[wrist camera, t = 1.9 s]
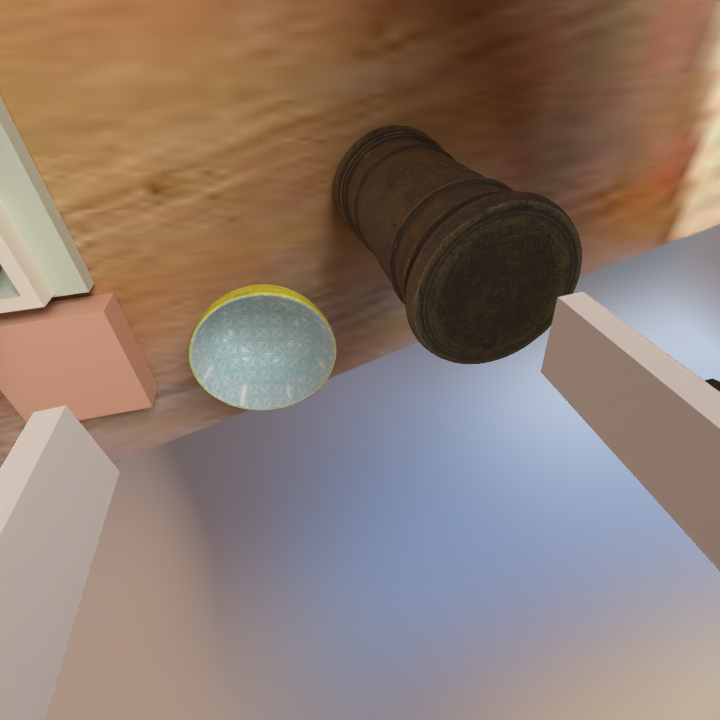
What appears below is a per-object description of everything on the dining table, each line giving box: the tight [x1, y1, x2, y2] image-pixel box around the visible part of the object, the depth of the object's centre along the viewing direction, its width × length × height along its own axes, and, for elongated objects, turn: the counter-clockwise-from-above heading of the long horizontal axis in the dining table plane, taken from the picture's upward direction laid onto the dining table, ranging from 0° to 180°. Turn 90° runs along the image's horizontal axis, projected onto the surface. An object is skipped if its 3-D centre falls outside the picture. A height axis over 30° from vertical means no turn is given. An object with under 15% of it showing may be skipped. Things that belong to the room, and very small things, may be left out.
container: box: [335, 126, 582, 364], centre depth 25 cm, size 9×9×18 cm
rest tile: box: [0, 293, 158, 423], centre depth 34 cm, size 10×10×3 cm
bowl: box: [189, 284, 337, 411], centre depth 35 cm, size 11×12×6 cm
